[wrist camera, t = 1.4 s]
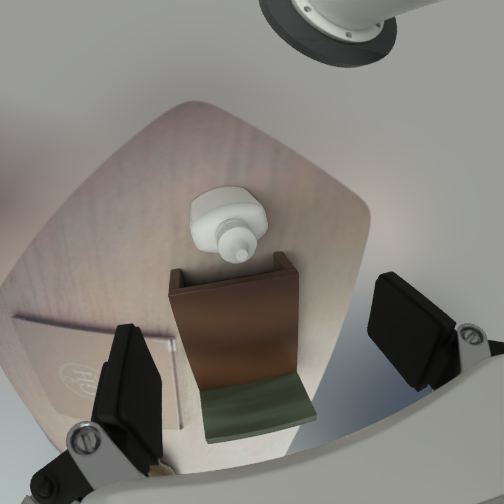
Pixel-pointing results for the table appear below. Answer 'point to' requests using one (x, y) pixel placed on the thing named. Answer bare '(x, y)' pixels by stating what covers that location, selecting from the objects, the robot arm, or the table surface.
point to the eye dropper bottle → (227, 223)
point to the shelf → (244, 351)
